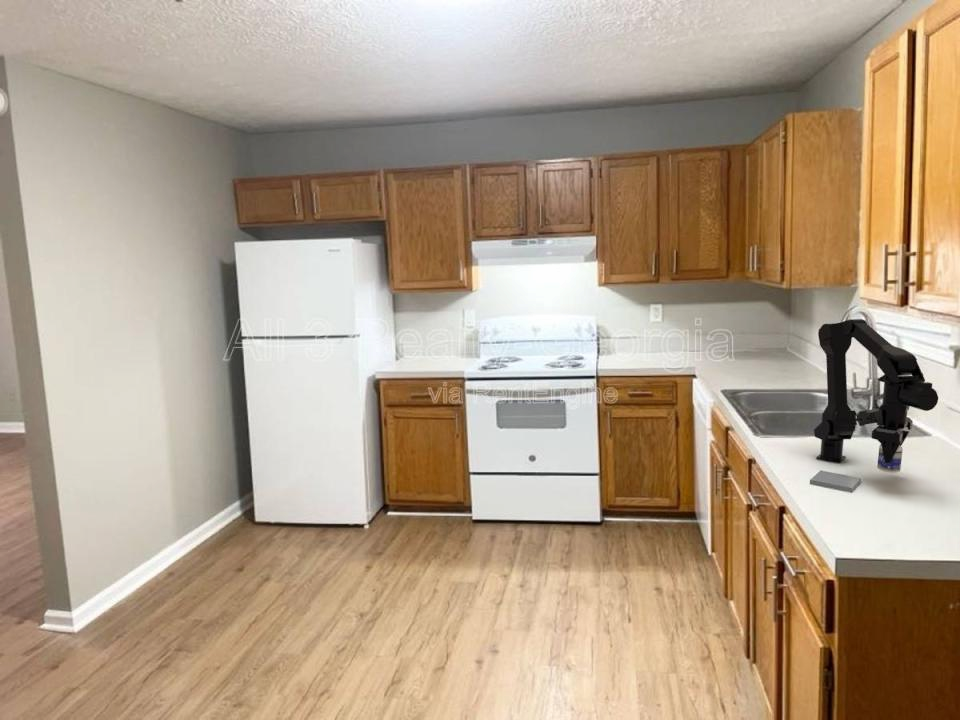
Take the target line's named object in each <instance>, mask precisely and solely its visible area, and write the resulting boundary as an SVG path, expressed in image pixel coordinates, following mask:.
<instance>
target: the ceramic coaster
mask: <svg viewBox="0 0 960 720" xmlns="http://www.w3.org/2000/svg"><path fill="white" fill-rule="evenodd" d="M861 483H862V478H861V477H857V476H853V475H848V474H847V475H846V474H843V473H836V472H831V471H825V470H819V471H818V472H817V473H816V474H815V475H813V476H812V477H811V478H810V479H809V485H811V486H817V487H821V488H822V487H823V488H828V489H831V490H836V491H842V492H845V493H846V492H847V493H850V494H851V493H853V492H854V491H855V490H856V489H857V487H858V486H859V485H861Z"/></svg>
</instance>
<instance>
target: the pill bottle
mask: <svg viewBox="0 0 960 720" xmlns="http://www.w3.org/2000/svg"><path fill="white" fill-rule="evenodd" d="M877 455H878V456H877V457H878V458H877V465H876V466H877V467H876V468H877V469H878V470H879V471H881V472H885V473H889V474H890V473H893V474H894V473H895V474H896V473H899V472H901V468H902V458H903V446H899V448H898V449H897V451H896V453H895V455H894V457H893V458H892V460H891V462H890V463H885V460H884V455H883V450H882V445H881V443H880V444H879V447H878V454H877Z"/></svg>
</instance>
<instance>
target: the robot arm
mask: <svg viewBox="0 0 960 720" xmlns="http://www.w3.org/2000/svg"><path fill="white" fill-rule="evenodd" d="M817 335H818V341H819V346H820V348H821V349H822V351H823V352H824V353H825V356H826V358H825V359H826V362H825V363H826V380H827V383H826V385H827V386H826V387H827V406H826V407H825V409H824V411H823V412H822V415H821V416H822V417H821V422H820V423H818V425H817V426H816V427H815V428H813V433H814V437H815V438H816V439H819V440H821V441H820V454H818V455H817V456H816V457H815V459H817V460H822V461H827V462H833V463H838V464H840V463H842V462H843V461H844V460H845V459H846V455H843V452H844V451H843V450H844V440H852V437H853V435H854V432H855V431H856V427H857V425H858V426H859V427H863V426H865V425H870V424H871V425H872V424H876V425H877V426H876V427H875V428H874V429H873V430H871V437H870V438H871V439H873V440H875V441H878V443H880V444H881V445H882V450H883V455H884V460H885V463H890V462H891V460H892V458H893V457H894V455H895V453H896V451H897V449H898V448H899V446H901V447H903V446H902V445H903V444H904V442H905V441H906V439H907V437H908V435H909V434H910V431H911V430H912V428H913V420H912V419H911V418H910V417H908V412H909V410H910V407H911V408H913V409H914V408H915V409H918V410H921V411H926V412H928V411H931V410H933V409H934V408H935V407H936V406H937V405H938V402H939V396H938V392H937V391H936V389H934V388H933V383H932V382H928V381H926V379H925V376H924V374H923V372H922V370H921V368H920V366H919V363H918V361H917V360H918V359H917V357H916V356H915V355H914V354H913V353H911V352H909V351H908V350H906V349H904V348H901V347H897V346H895V345H893V344H891V342H889V341H888V340H887V339H885V338H884V337H883V336H882V335H881V334H879V333H878V332H877V331H876V330H875V329H873V328H872V327H871V326H870V325H869V324H868V322H867V320H865V319H862V318H854V319H852V318H851V319H847V320H844V321H841V322H837V323H823V324H822V325H821V327H820V328H819V329H818V333H817ZM852 339H854V340H856V341H857V342H858V343H859V344H860V345H861V346H862V347H863V348H864V349H866V351H868V352H869V353H870V354H871V355H872V356H874V358H875V359H876V364H877V367H878V368H879V369H880V370H881V372H882V373H883V375H881V376H880V377H879V378H878V382H881V383H883V393H882V404H880V405H879V406H878V408H873V409H872V408H871V409H865V410H860V411H858V412H856V410H853V409H851V407H850V406H849V404H848V384H847V359H846V357H847V355H846V354H847V352H848V350H849V349H850V347H851V345H852ZM905 428H907V430H904V429H905ZM909 430H910V431H909Z"/></svg>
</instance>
